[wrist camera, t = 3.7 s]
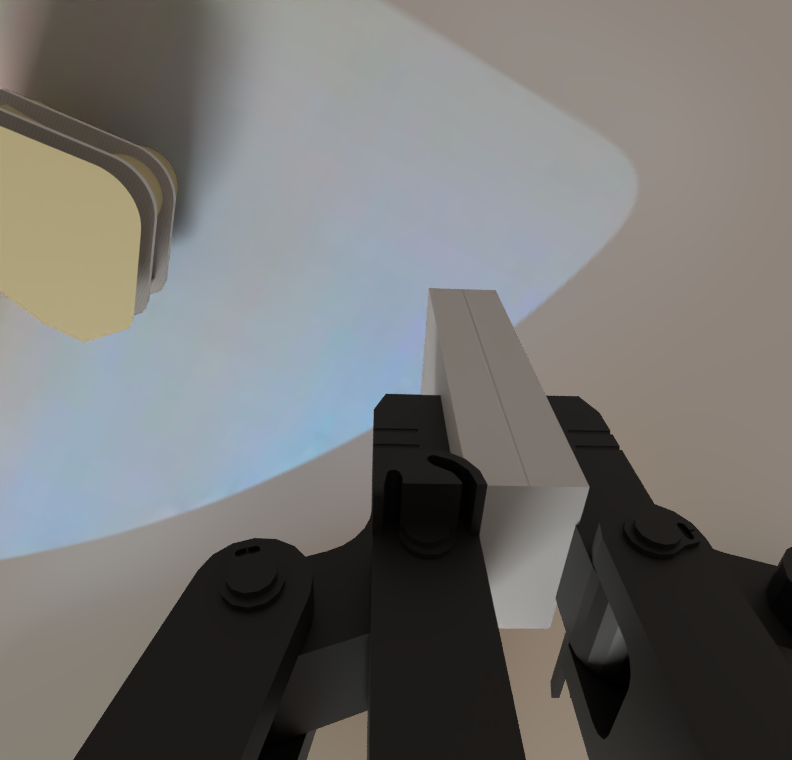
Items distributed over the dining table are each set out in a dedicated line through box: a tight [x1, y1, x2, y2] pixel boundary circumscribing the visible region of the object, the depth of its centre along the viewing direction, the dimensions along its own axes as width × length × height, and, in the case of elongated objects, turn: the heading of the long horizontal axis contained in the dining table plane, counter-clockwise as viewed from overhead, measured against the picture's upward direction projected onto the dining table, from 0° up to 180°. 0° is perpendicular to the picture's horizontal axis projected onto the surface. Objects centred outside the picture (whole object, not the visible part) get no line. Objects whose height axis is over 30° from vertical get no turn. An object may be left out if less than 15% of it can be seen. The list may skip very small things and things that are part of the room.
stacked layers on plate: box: [0, 89, 178, 342], centre depth 20 cm, size 10×9×6 cm
